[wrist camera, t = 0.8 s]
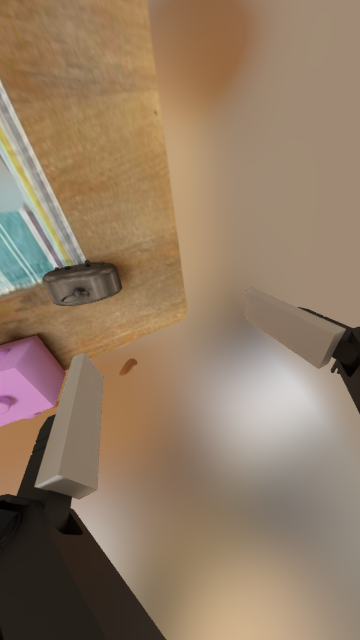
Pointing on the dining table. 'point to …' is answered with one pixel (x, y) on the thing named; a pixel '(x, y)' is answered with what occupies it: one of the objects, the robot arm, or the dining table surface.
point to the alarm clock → (82, 283)
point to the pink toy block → (27, 379)
